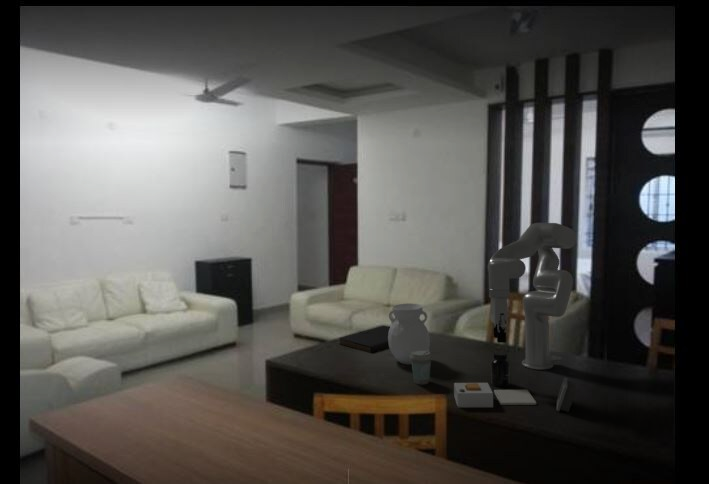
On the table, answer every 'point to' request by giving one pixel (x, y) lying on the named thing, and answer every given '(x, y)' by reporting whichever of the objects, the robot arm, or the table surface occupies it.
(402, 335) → the grey vase
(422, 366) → the coffee cup
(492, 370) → the supplement bottle
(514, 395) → the pad
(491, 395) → the box
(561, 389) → the electrical switch
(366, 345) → the file folder
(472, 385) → the button
